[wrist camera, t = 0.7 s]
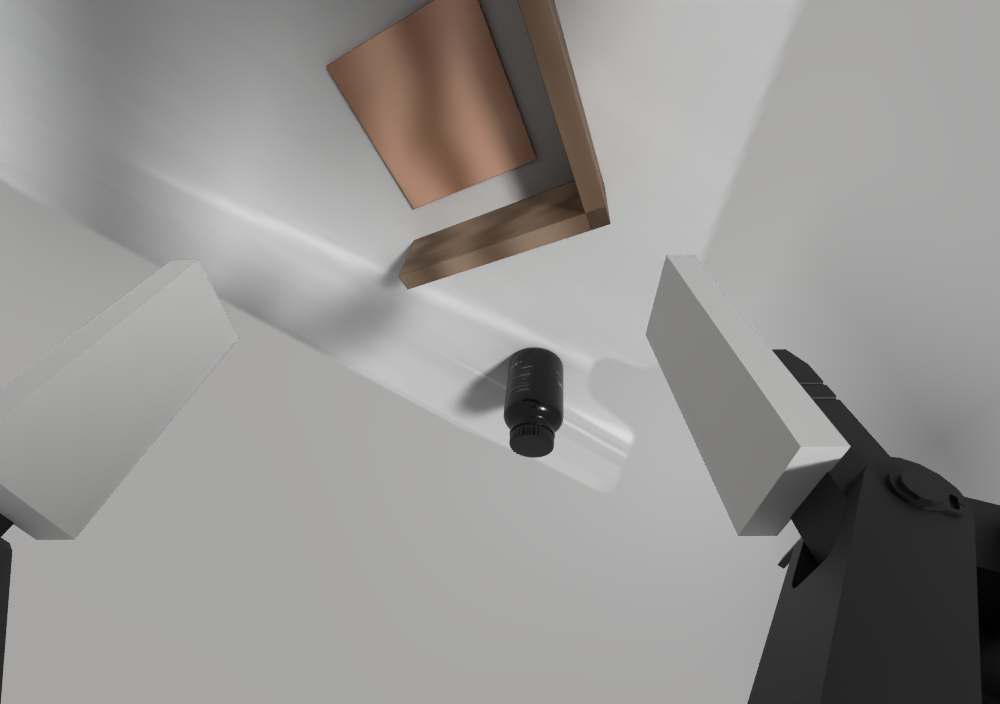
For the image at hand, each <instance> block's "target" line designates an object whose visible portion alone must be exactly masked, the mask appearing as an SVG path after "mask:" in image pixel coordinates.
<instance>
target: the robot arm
mask: <svg viewBox="0 0 1000 704" xmlns="http://www.w3.org/2000/svg"><path fill="white" fill-rule="evenodd" d="M646 336H647V338H648V341H649V343H650V345H651V347H652V349H653V351H654V354H655V356H656V358H657V360H658V362H659V365H660V367H661V369H662V371H663V373H664V375H665V378H666V380H667V382H668V384H669V386H670V388H671V391H672V393H673V395H674V397H675V399H676V401H677V404H678V406H679V408H680V410H681V412H682V415H683V417H684V419H685V421H686V423H687V425H688V428H689V430H690V432H691V434H692V436H693V439H694V441H695V443H696V445H697V447H698V449H699V451H700V454H701V456H702V458H703V460H704V462H705V465H706V467H707V469H708V471H709V473H710V475H711V478H712V480H713V482H714V484H715V486H716V489H717V491H718V493H719V495H720V497H721V499H722V501H723V504H724V506H725V508H726V510H727V512H728V514H729V517H730V519H731V521H732V523H733V526H734V528H735V530H736V532H737V534H738V536H773V535H774V536H777V535H778V534H779V533H780V532H781V531H782V529H783V528H784V527H785V526H786V525H787V523H788V522H789V521H790V520H791V519H792V521H793V523H794V525H795V526H796V528H797V530H798V532H799V533H800V535H801V538H800V539H799V540H798V541H797V542H796V544H795V545H794V546H793V547H792V548H791V549H790V550H789V551H788V552H787V554H786V555H785V556H784V557H783V558H782V560H781V561H780V562H779V564H778V565H779V566H780V567H782V568H785V567H786V566H787V565H788V564H789V566H788V569H787V573H786V576H785V580H784V583H783V587H782V590H781V593H780V596H779V600H778V603H777V606H776V610H775V613H774V617H773V620H772V623H771V627H770V630H769V633H768V637H767V640H766V643H765V647H764V650H763V653H762V657H761V660H760V663H759V667H758V670H757V674H756V677H755V681H754V684H753V687H752V690H751V694H750V697H749V700H748V704H1000V505H996V504H992V503H987V502H983V501H979V500H975V499H971V498H967V497H964V496H963V495H962V494H961V493H960V492H959V490H958V489H957V488H956V487H955V486H953V485H952V484H951V483H949V482H948V481H947V480H945V479H944V478H943V477H942V476H940V475H939V474H937V473H935V472H933V471H931V470H929V469H928V468H926V467H924V466H922V465H920V464H917V463H914V462H911V461H908V460H905V459H902V458H895V457H890V456H889V455H888V454H887V453H886V451H885V450H884V449H883V448H882V447H881V446H880V445H879V444H878V442H876V440H875V439H874V438H873V437H872V436H871V435H870V434H869V433H868V431H867V430H866V429H865V428H864V427H863V426H862V424H860V423H859V421H858V420H857V419H856V418H855V417H854V415H853V414H852V413H851V412H850V411H849V410H848V409H847V408H846V406H845V405H843V403H842V402H841V401H840V400H836V395H835V394H834V393H833V392H832V391H831V390H830V389H829V387H828V386H827V385H823V381H822V380H821V378H820V377H819V376H818V375H817V374H816V373H815V372H814V370H813V369H812V368H811V367H810V366H809V365H808V364H807V363H805V362H804V361H802V360H801V359H799V358H798V357H796V356H795V355H793V354H792V353H790V352H789V351H787V350H785V349H784V350H771V348H770V347H769V346H768V345H767V343H766V342H765V341H764V340H763V339H762V338H761V336H760V335H759V334H758V332H757V331H756V330H755V329H754V328H753V326H752V325H751V324H750V323H749V321H748V320H747V319H746V318H745V317H744V315H743V314H742V313H741V312H740V310H739V309H738V308H737V307H736V306H735V304H734V303H733V302H732V301H731V300H730V298H729V297H728V296H727V295H726V293H725V292H724V291H723V290H722V288H721V287H720V286H719V285H718V284H717V282H716V281H715V280H714V279H713V277H712V276H711V275H710V274H709V273H708V271H707V270H706V269H705V268H704V266H703V265H702V264H701V263H700V262H699V260H698V259H697V258H696V257H695V255H666V259H665V262H664V266H663V270H662V274H661V278H660V281H659V285H658V289H657V293H656V297H655V301H654V304H653V308H652V312H651V316H650V320H649V323H648V327H647V331H646ZM238 338H239V337H238V335H237V334H236V332H235V330H234V328H233V326H232V324H231V322H230V320H229V318H228V316H227V314H226V312H225V310H224V308H223V306H222V304H221V302H220V300H219V298H218V296H217V294H216V292H215V290H214V289H213V287H212V285H211V283H210V281H209V279H208V277H207V275H206V273H205V271H204V269H203V267H202V265H201V263H200V261H199V260H171V261H170V262H168V263H167V264H166V265H164V266H163V267H162V268H160V269H159V270H158V271H156V272H155V273H153V274H152V275H151V276H150V277H148V278H147V279H146V280H144V281H143V282H141V283H140V284H139V285H137V286H136V287H135V288H133V289H132V290H131V291H129V292H128V293H126V294H125V295H124V296H122V297H121V298H120V299H118V300H117V301H116V302H114V303H113V304H112V305H110V306H109V307H108V308H106V309H105V310H104V311H102V312H101V313H99V314H98V315H97V316H95V317H94V318H93V319H91V320H90V321H89V322H87V323H86V324H85V325H83V326H82V327H80V328H79V329H78V330H76V331H75V332H74V333H72V334H71V335H70V336H69V337H67V338H66V339H65V340H63V341H62V342H60V343H59V344H58V345H56V346H55V347H53V348H52V349H51V350H49V351H48V352H47V353H45V354H44V355H43V356H41V357H40V358H39V359H37V360H36V361H34V362H33V363H32V364H30V365H29V366H28V367H26V368H25V369H24V370H22V371H21V372H20V373H18V374H17V375H16V376H14V377H13V378H12V379H10V380H9V381H7V382H6V383H5V384H3V385H2V386H1V387H0V703H1V691H2V678H3V664H4V652H5V638H6V626H7V612H8V599H9V586H10V574H11V561H12V549H11V546H10V543H8V542H7V541H5V540H4V539H2V538H1V536H2V535H3V534H4V533H5V532H6V531H7V530H8V529H9V528H10V527H11V526H12V525H13V524H14V525H16V526H17V527H19V528H20V529H22V530H23V531H25V532H26V533H27V534H29V535H30V536H32V537H33V538H35V539H36V540H54V539H55V540H56V539H57V540H59V539H60V540H67V539H69V540H70V539H71V540H72V539H75V538H76V537H77V536H78V535H79V533H80V532H81V531H82V530H83V529H84V527H85V526H86V525H87V524H88V522H89V521H90V520H91V519H92V517H93V516H94V515H95V514H96V513H97V511H98V510H99V509H100V508H101V507H102V505H103V504H104V503H105V502H106V500H107V499H108V498H109V497H110V495H111V494H112V493H113V492H114V490H115V489H116V488H117V487H118V486H119V484H120V483H121V482H122V481H123V479H124V478H125V477H126V476H127V474H128V473H129V472H130V471H131V469H132V468H133V467H134V466H135V465H136V464H137V462H138V461H139V460H140V458H141V457H142V456H143V455H144V454H145V453H146V451H147V450H148V448H150V446H151V445H152V444H153V443H154V441H155V440H156V439H157V438H158V437H159V435H160V434H161V433H162V431H163V430H164V429H165V428H166V427H167V425H168V424H169V423H170V422H171V421H172V419H173V418H174V417H175V416H176V414H177V413H178V412H179V411H180V410H181V408H182V407H183V406H184V405H185V403H186V402H187V401H188V400H189V398H190V397H191V396H192V395H193V394H194V392H195V391H196V390H197V389H198V387H199V386H200V385H201V384H202V383H203V381H204V380H205V379H206V378H207V376H208V375H209V374H210V373H211V371H212V370H213V369H214V368H215V367H216V365H217V364H218V363H219V362H220V360H221V359H222V358H223V357H224V356H225V354H226V353H227V352H228V351H229V349H230V348H231V347H232V346H233V344H234V343H235V342H236V341H237V340H238Z"/></svg>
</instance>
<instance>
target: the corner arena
mask: <svg viewBox="0 0 1000 704" xmlns="http://www.w3.org/2000/svg"><path fill="white" fill-rule="evenodd" d="M518 2H519V6H520V9H521V12H522V15H523V18H524V21H525V24H526V28H527V31H528V34H529V37H530V40H531V43H532V47H533V50H534V53H535V56H536V59H537V62H538V65H539V69H540V72H541V75H542V78H543V81H544V84H545V87H546V91H547V94H548V97H549V100H550V103H551V106H552V110H553V113H554V116H555V119H556V122H557V125H558V128H559V132H560V135H561V138H562V141H563V144H564V147H565V151H566V154H567V157H568V160H569V163H570V166H571V169H572V173H573V176H574V179H575V181H572V182H570V183H567V184H564V185H562V186H559V187H556V188H554V189H551V190H548V191H546V192H543V193H540V194H537V195H535V196H532V197H529V198H527V199H524V200H521V201H519V202H516V203H513V204H511V205H508V206H505V207H503V208H500V209H497V210H495V211H492V212H489V213H486V214H484V215H481V216H478V217H476V218H473V219H470V220H468V221H465V222H462V223H460V224H457V225H454V226H452V227H449V228H446V229H443V230H441V231H438V232H435V233H433V234H430V235H427V236H425V237H422V238H419V239H417V240H414V243H413V245H412V247H411V249H410V252H409V254H408V256H407V258H406V261H405V263H404V265H403V267H402V270H401V272H400V274H399V278H400V280H401V281H402V282H403V284H404V285H405V287H406V288H407V289H411V288H414V287H417V286H420V285H423V284H426V283H429V282H432V281H435V280H438V279H441V278H445V277H448V276H451V275H454V274H457V273H460V272H463V271H466V270H469V269H472V268H475V267H479V266H482V265H485V264H488V263H491V262H494V261H497V260H500V259H503V258H506V257H510V256H513V255H516V254H519V253H522V252H525V251H528V250H531V249H534V248H537V247H540V246H544V245H547V244H550V243H553V242H556V241H559V240H562V239H565V238H568V237H571V236H574V235H578V234H581V233H584V232H587V231H590V230H593V229H596V228H599V227H602V226H605V225H609V224H610V218H609V212H608V205H607V199H606V193H605V187H604V183H603V180H602V176H601V172H600V168H599V165H598V161H597V157H596V154H595V150H594V146H593V143H592V139H591V135H590V131H589V128H588V124H587V120H586V117H585V113H584V109H583V106H582V102H581V98H580V95H579V91H578V87H577V83H576V80H575V76H574V72H573V69H572V65H571V61H570V58H569V54H568V50H567V46H566V43H565V39H564V35H563V32H562V28H561V24H560V21H559V17H558V13H557V9H556V6H555V2H554V0H518ZM326 68H327V69H328V71H329V73H330V74H331V76H332V77H333V79H334V81H335V82H336V84H337V85H338V87H339V89H340V90H341V92H342V94H343V95H344V97H345V98H346V100H347V102H348V103H349V105H350V106H351V108H352V110H353V111H354V113H355V115H356V116H357V118H358V119H359V121H360V123H361V124H362V126H363V127H364V129H365V131H366V132H367V134H368V136H369V137H370V139H371V140H372V142H373V144H374V145H375V147H376V148H377V150H378V152H379V153H380V155H381V157H382V158H383V160H384V161H385V163H386V165H387V166H388V168H389V170H390V171H391V173H392V174H393V176H394V178H395V179H396V181H397V182H398V184H399V186H400V187H401V189H402V191H403V192H404V194H405V195H406V197H407V199H408V200H409V202H410V203H411V205H412V207H413V208H414V209H415V208H418V207H420V206H423V205H425V204H428V203H430V202H433V201H435V200H438V199H440V198H442V197H445V196H447V195H450V194H452V193H455V192H457V191H460V190H462V189H465V188H467V187H470V186H472V185H475V184H477V183H479V182H482V181H484V180H487V179H489V178H492V177H494V176H497V175H499V174H502V173H504V172H507V171H509V170H512V169H514V168H516V167H519V166H521V165H524V164H526V163H529V162H531V161H534V160H536V158H537V157H536V154H535V152H534V149H533V146H532V144H531V141H530V138H529V135H528V133H527V130H526V127H525V125H524V122H523V119H522V116H521V114H520V111H519V108H518V106H517V103H516V100H515V97H514V95H513V92H512V89H511V86H510V84H509V81H508V78H507V76H506V73H505V70H504V67H503V65H502V62H501V59H500V57H499V54H498V51H497V48H496V46H495V43H494V40H493V38H492V35H491V32H490V29H489V27H488V24H487V21H486V18H485V16H484V13H483V10H482V8H481V5H480V2H479V0H434V1H432V2H430V3H429V4H427V5H425V6H424V7H422V8H421V9H419V10H417V11H416V12H414V13H412V14H411V15H409V16H407V17H406V18H404V19H403V20H401V21H399V22H398V23H396V24H394V25H393V26H391V27H390V28H388V29H386V30H385V31H383V32H381V33H380V34H378V35H376V36H375V37H373V38H372V39H370V40H368V41H367V42H365V43H363V44H362V45H360V46H358V47H357V48H355V49H354V50H352V51H350V52H349V53H347V54H345V55H344V56H342V57H340V58H339V59H337V60H336V61H334V62H332V63H331V64H329V65H327V66H326Z"/></svg>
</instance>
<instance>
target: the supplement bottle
mask: <svg viewBox="0 0 1000 704" xmlns="http://www.w3.org/2000/svg"><path fill="white" fill-rule="evenodd" d="M504 420H505V423H506V425H507V426H508V427H509V429H510V447H511V448H512V450H513V451H514V452H516V453H517V454H520V455H523V456H526V457H542V456H545V455H548V454H549V453H550V452H552V450H553V447H554V438H555V432H556V431H557V430H558V429H559V428H560V427H561V425H562V422H563V364H562V362H561V360H560V358H559V357H558V356H557V355H556V354H554V353H553V352H551V351H549V350H546V349H542V348H529V349H525V350H522V351H520V352H518V353H517V354H516V355H515V356H514V357H513V358H512V360H511V362H510V366H509V373H508V382H507V390H506V398H505V407H504Z"/></svg>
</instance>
